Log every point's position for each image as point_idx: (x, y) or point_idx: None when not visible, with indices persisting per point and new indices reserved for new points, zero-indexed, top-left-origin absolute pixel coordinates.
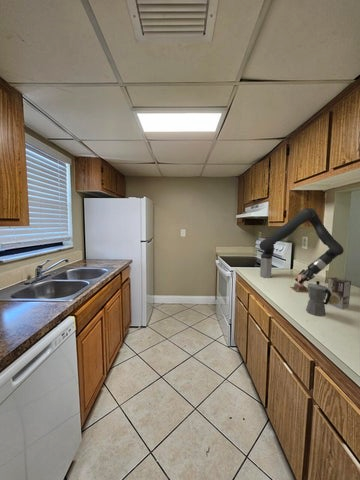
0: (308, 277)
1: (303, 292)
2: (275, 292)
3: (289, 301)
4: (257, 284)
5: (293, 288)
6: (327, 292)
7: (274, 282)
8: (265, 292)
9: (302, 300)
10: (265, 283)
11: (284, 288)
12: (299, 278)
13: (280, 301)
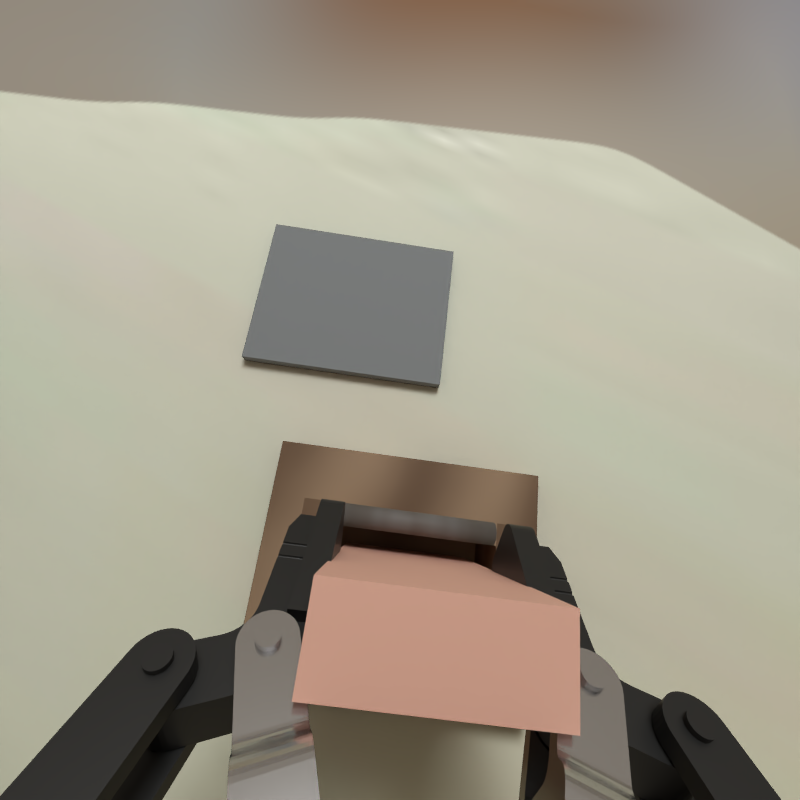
0: (30, 784)
1: (263, 550)
2: (340, 214)
3: (46, 220)
4: (615, 152)
5: (452, 493)
6: None
7: (758, 387)
8: (342, 120)
9: (37, 381)
10: (677, 251)
11: (499, 394)
12: (418, 574)
13: (68, 138)
